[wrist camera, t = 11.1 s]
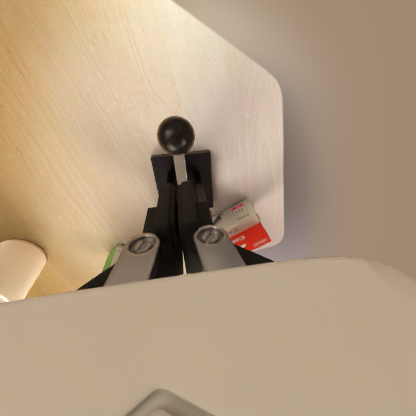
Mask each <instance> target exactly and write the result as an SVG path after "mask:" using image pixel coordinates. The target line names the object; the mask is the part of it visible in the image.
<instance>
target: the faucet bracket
mask: <svg viewBox="0 0 416 416" xmlns="http://www.w3.org/2000/svg"><path fill="white" fill-rule="evenodd" d="M184 156H185V164H186V172H187V181H191V186H192V192H193V199H194V203H195V202H204V201H207V202H208V206H209V208H211V207H213V191H212V172H211V153H210V150H202V151H192V152H187V153H185V154H184ZM151 161H152V166H153V171H154V175H155V180H156V185H157V189H158V194H159V191H160V185H161V184H166V183H171V185H175V189H176V195H177V202H178V183H177V177H176V171H175V164H174V158H173V155H171V154H162V155H152V156H151ZM210 213H211V217H212V212H211V211H210ZM212 221H213V219H212Z"/></svg>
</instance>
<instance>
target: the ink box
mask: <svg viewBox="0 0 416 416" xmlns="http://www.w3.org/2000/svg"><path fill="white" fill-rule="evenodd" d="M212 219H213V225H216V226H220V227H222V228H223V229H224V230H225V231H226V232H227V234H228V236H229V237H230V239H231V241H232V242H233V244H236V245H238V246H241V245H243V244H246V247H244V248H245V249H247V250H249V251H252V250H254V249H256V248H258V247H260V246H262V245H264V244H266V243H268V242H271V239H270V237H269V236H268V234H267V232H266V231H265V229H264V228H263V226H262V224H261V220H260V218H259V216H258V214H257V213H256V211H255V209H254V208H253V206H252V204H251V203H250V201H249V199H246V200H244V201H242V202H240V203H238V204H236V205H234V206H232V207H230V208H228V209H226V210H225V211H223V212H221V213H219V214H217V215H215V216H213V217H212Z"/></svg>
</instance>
